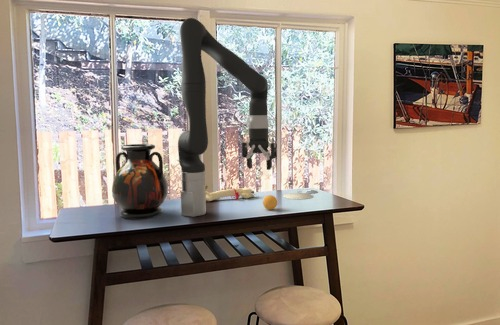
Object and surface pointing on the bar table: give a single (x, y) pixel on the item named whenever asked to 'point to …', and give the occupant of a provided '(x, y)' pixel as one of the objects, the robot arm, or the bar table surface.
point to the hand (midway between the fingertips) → (259, 168)
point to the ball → (270, 202)
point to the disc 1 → (298, 196)
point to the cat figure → (229, 193)
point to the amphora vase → (139, 182)
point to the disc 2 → (308, 192)
